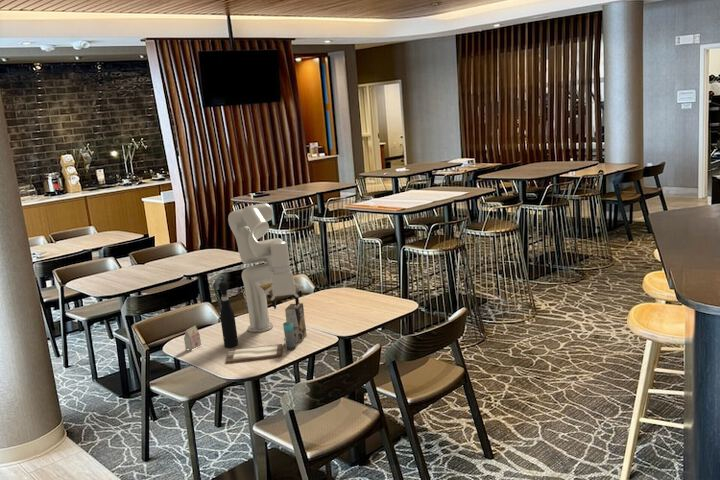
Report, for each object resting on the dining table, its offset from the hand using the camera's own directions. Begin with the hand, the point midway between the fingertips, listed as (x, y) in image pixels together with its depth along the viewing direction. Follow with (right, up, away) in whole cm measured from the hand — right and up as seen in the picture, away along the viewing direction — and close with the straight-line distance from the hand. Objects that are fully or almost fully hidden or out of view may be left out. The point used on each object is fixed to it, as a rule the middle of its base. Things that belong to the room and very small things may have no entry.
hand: (286, 306), depth 295 cm
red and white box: (-45, -21, +17) cm, 53 cm away
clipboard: (-14, -21, +1) cm, 26 cm away
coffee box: (+4, -17, +16) cm, 24 cm away
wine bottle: (-27, -20, +15) cm, 37 cm away
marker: (+2, -19, +4) cm, 20 cm away
